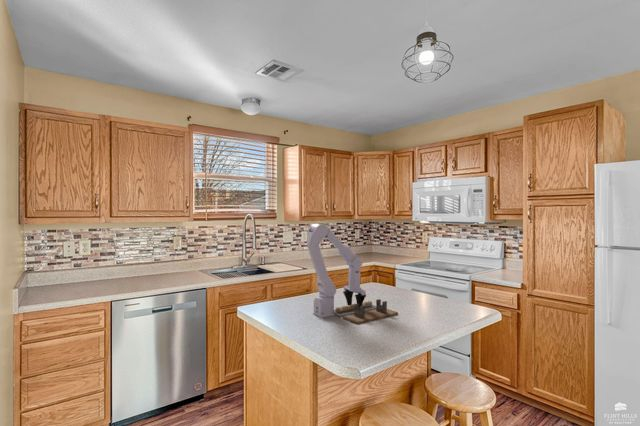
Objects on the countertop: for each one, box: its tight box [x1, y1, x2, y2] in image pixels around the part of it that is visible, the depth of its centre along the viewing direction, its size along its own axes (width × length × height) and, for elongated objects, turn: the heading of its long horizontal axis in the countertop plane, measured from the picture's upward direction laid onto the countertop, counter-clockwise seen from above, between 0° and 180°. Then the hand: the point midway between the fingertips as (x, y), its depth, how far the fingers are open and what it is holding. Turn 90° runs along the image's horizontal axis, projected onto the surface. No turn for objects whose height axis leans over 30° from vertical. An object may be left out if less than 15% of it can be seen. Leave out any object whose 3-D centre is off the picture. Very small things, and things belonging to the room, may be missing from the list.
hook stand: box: [342, 298, 399, 325], centre depth 161 cm, size 26×10×6 cm, turn 124°
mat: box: [334, 304, 376, 318], centre depth 170 cm, size 26×9×1 cm, turn 124°
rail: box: [334, 300, 373, 313], centre depth 170 cm, size 22×2×2 cm, turn 124°
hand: (354, 306), depth 170 cm, fingers open, 7 cm apart
